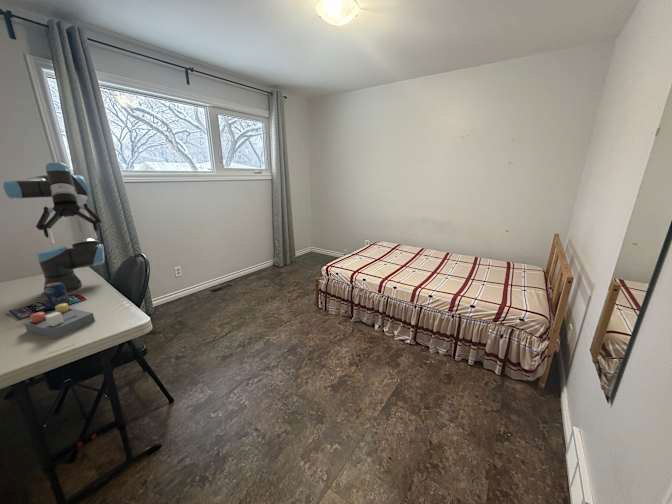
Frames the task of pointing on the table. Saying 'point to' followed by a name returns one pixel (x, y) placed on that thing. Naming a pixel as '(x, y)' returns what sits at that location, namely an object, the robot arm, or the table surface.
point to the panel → (61, 324)
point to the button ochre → (62, 308)
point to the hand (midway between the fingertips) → (74, 240)
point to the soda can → (56, 294)
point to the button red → (38, 317)
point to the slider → (54, 319)
